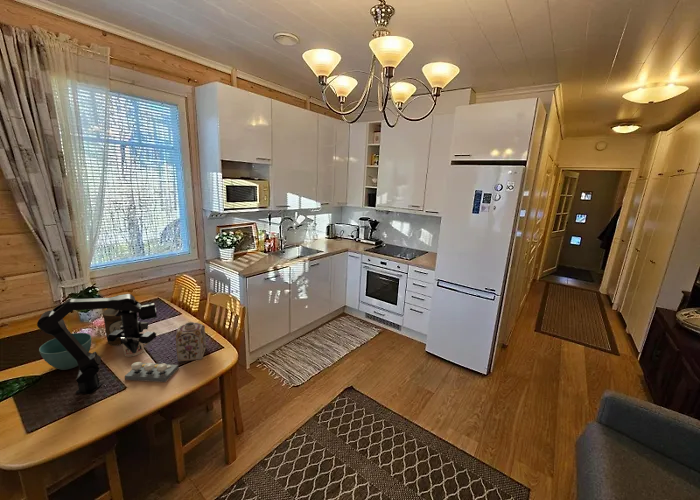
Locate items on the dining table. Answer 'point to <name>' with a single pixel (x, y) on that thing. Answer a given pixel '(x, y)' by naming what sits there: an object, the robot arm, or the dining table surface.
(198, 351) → the decorative jar
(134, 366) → the button inner
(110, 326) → the wooden container
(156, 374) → the board
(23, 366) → the dining table surface
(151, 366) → the button middle
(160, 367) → the white lever knob
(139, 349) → the teacup with lid
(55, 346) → the teal bowl
